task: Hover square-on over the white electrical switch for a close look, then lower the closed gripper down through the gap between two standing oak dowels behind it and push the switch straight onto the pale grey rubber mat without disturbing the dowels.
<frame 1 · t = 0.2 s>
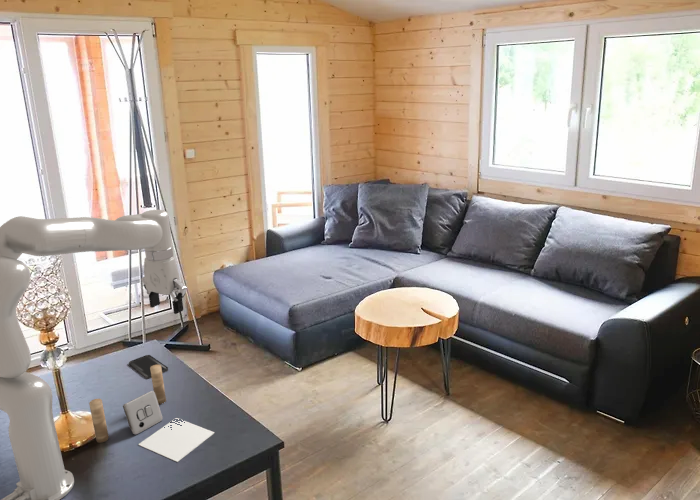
hand: (166, 309, 167), 31 cm above the table, tool pointing down, fingers open, 9 cm apart
electrical switch: (143, 425, 165), on the table
mat: (177, 438, 158), on the table
phone: (148, 368, 197), on the table
near oak dowel: (102, 439, 159), on the table
far oak dowel: (160, 401, 176), on the table
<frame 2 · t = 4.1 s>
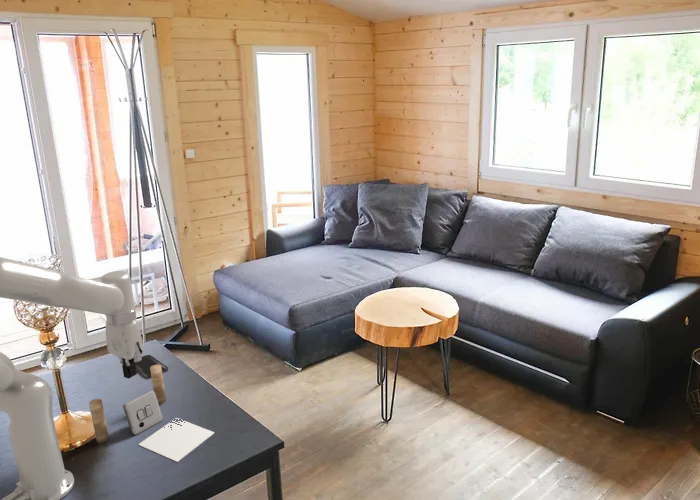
hand: (130, 375, 160), 16 cm above the table, tool pointing down, fingers closed
nothing on the table moved.
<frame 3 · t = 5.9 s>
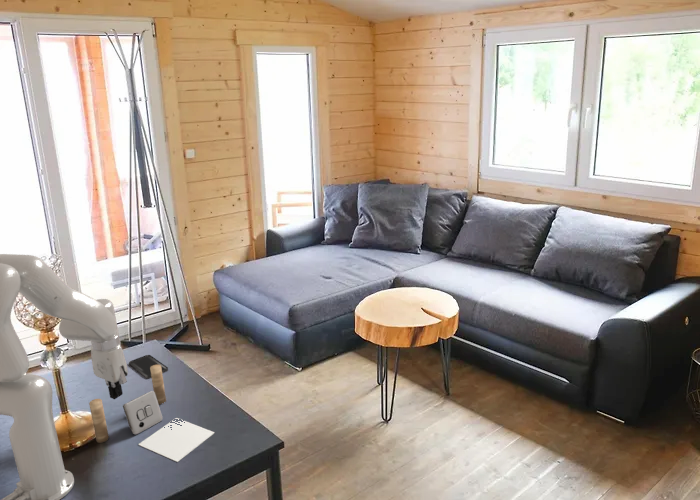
hand: (116, 396, 169), 6 cm above the table, tool pointing down, fingers closed
nothing on the table moved.
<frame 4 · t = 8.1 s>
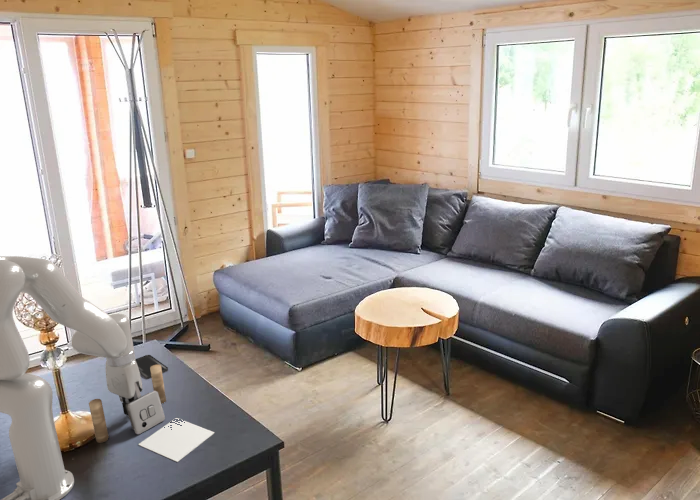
hand: (130, 412, 167), 2 cm above the table, tool pointing down, fingers closed
electrical switch: (145, 425, 165), on the table, touching gripper
everything else where it was.
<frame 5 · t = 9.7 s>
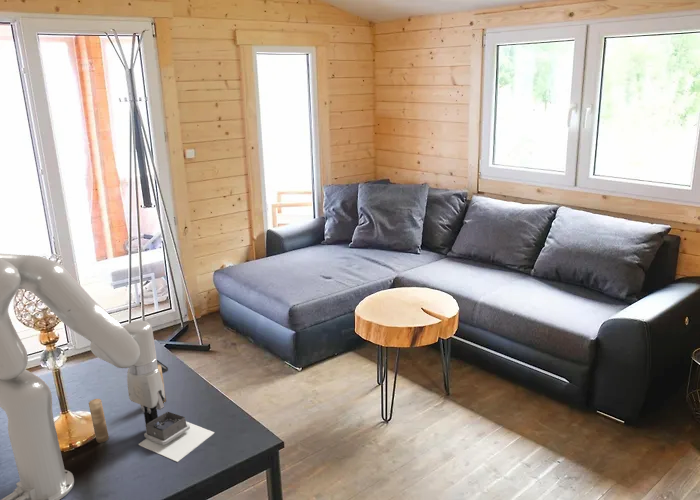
hand: (152, 422, 162), 2 cm above the table, tool pointing down, fingers closed
electrical switch: (155, 420, 161), point 3 cm above the table, touching gripper
everything else where it was.
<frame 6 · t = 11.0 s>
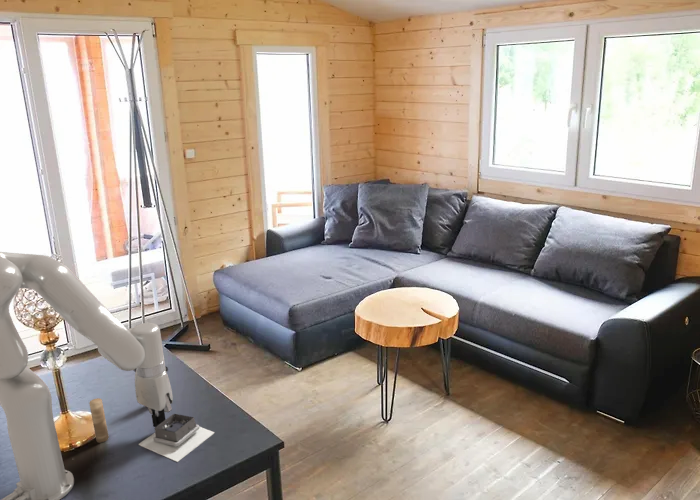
hand: (159, 424, 161), 2 cm above the table, tool pointing down, fingers closed
electrical switch: (163, 423, 160), point 3 cm above the table, touching gripper, mat
everything else where it was.
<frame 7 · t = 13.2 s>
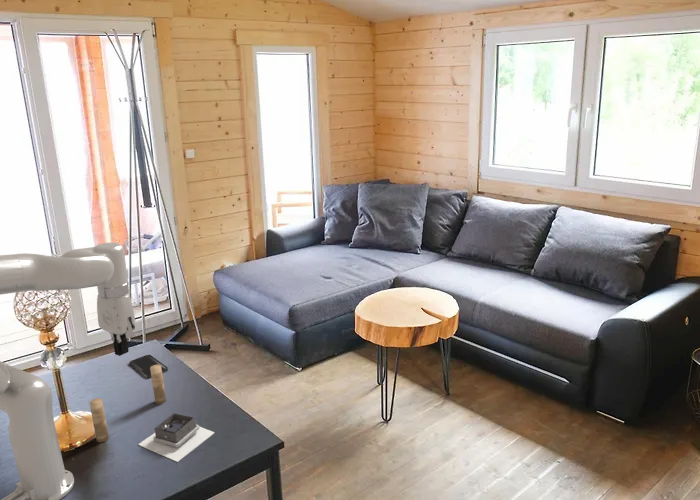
hand: (121, 353, 154), 25 cm above the table, tool pointing down, fingers closed
electrical switch: (162, 423, 160), point 3 cm above the table, touching mat
everything else where it was.
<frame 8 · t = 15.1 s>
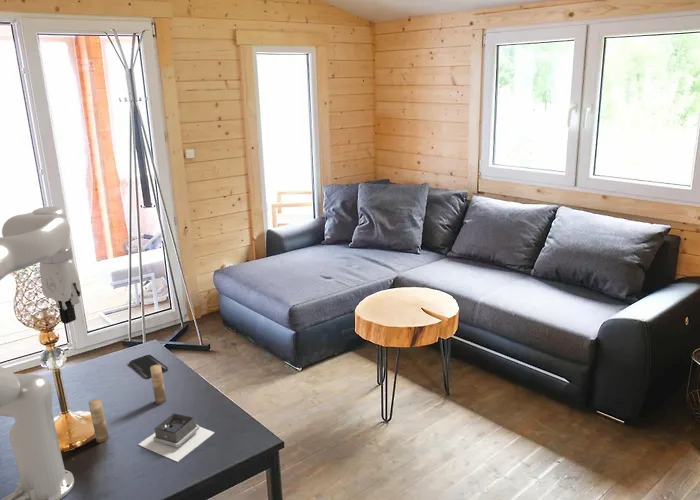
hand: (68, 321, 150), 35 cm above the table, tool pointing down, fingers closed
nothing on the table moved.
at the end: electrical switch inside the target area on the mat (5.1 cm from its centre), point 3.1 cm above the mat's base; near oak dowel moved 0.0 cm from its start; far oak dowel moved 0.0 cm from its start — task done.
